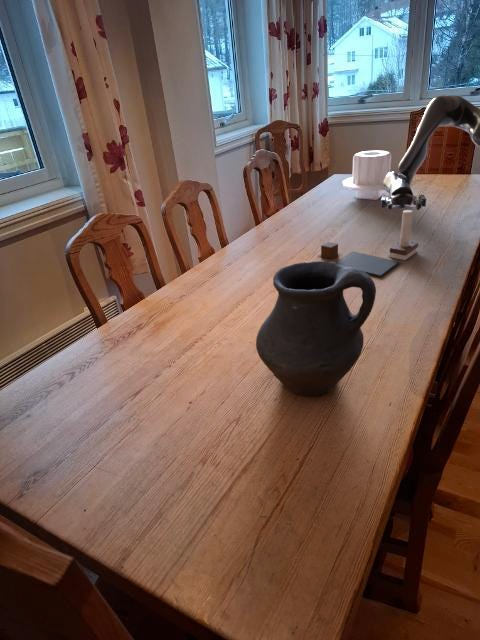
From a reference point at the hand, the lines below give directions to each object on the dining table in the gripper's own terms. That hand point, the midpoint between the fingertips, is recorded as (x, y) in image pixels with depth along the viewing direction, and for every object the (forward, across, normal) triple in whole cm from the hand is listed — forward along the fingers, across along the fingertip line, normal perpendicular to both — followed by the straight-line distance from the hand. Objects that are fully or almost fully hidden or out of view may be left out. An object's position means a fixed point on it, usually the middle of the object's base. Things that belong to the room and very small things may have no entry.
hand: (404, 207), depth 141 cm
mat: (+19, -12, +12) cm, 25 cm away
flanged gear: (-62, -9, +12) cm, 64 cm away
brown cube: (+12, -23, +12) cm, 29 cm away
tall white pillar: (+10, 0, +12) cm, 16 cm away
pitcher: (+78, -23, +13) cm, 82 cm away
